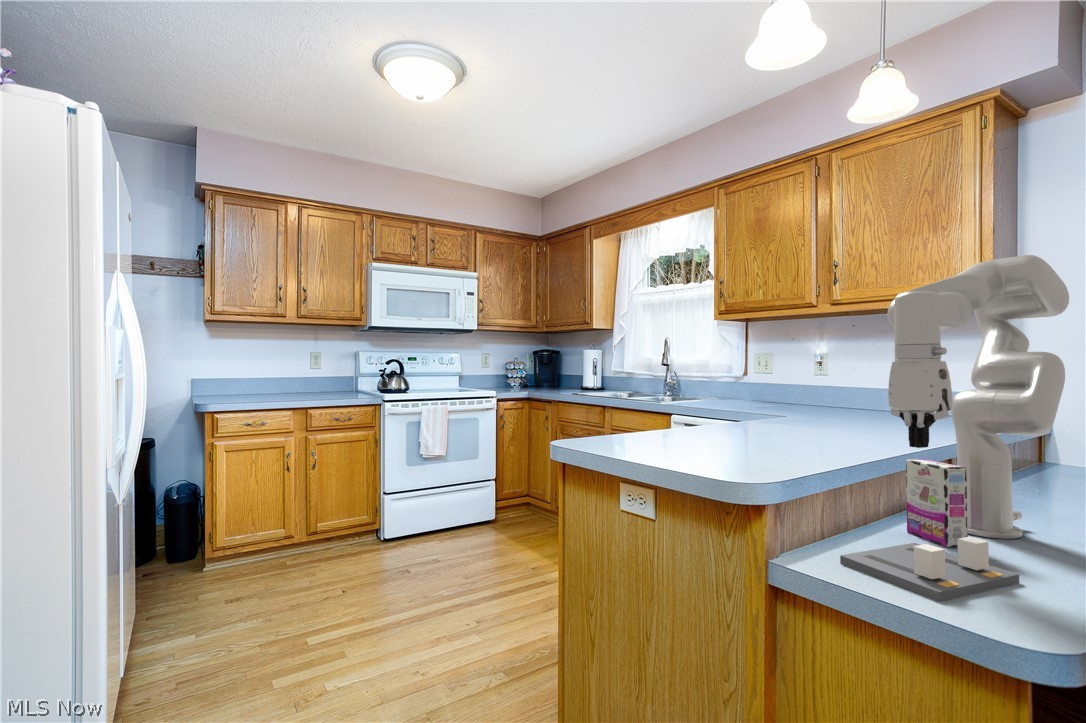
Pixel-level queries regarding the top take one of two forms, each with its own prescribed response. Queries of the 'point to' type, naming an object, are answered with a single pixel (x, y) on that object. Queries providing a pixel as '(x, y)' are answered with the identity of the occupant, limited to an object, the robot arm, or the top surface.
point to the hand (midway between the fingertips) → (918, 446)
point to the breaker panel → (900, 571)
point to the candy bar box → (936, 501)
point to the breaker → (929, 561)
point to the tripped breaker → (973, 553)
